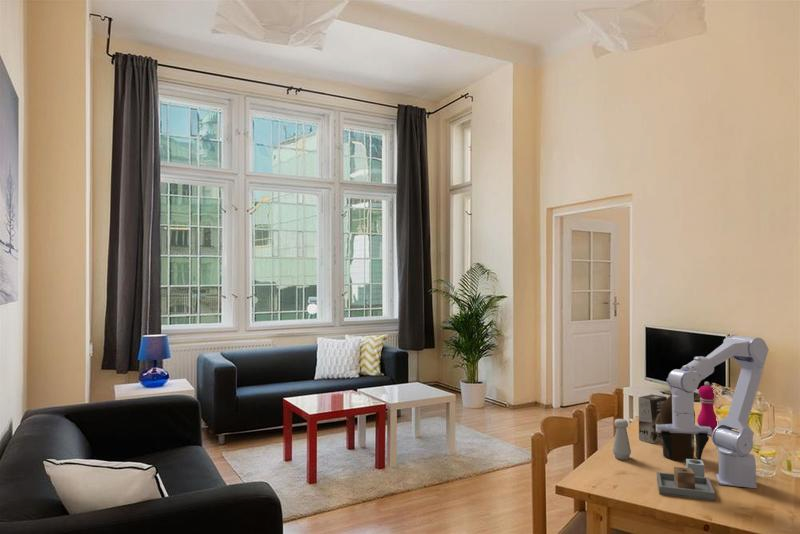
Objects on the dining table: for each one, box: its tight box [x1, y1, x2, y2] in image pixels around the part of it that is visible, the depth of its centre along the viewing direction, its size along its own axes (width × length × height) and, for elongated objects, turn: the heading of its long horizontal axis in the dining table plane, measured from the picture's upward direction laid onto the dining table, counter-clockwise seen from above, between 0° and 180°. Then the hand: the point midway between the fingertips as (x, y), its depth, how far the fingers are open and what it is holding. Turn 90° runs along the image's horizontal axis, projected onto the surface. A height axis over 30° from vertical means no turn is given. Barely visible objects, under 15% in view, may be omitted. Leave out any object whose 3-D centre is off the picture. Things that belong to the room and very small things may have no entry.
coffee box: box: [638, 394, 668, 444], centre depth 209 cm, size 9×6×16 cm
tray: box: [656, 471, 716, 502], centre depth 162 cm, size 14×12×2 cm
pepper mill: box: [696, 381, 717, 437], centre depth 216 cm, size 7×7×20 cm
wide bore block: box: [685, 458, 706, 477], centre depth 171 cm, size 4×4×5 cm
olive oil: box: [660, 393, 696, 462], centre depth 190 cm, size 11×11×25 cm
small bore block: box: [673, 466, 695, 490], centre depth 163 cm, size 4×4×5 cm
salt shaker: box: [612, 418, 632, 461], centre depth 190 cm, size 6×6×13 cm
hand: (684, 458), depth 163 cm, fingers open, 7 cm apart
